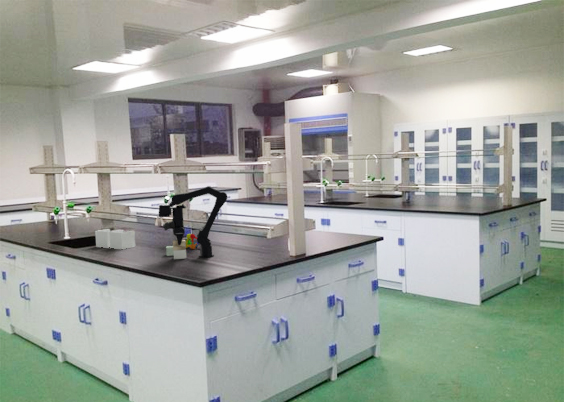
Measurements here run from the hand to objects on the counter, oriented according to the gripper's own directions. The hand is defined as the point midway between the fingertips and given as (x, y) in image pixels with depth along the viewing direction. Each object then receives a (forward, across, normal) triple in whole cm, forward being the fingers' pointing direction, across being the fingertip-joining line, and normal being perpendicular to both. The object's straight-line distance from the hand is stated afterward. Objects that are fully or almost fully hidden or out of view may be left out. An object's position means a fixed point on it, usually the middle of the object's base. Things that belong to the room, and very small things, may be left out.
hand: (179, 243), depth 281 cm
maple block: (+3, 0, 0) cm, 3 cm away
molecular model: (+8, -31, +8) cm, 33 cm away
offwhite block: (+8, 0, 0) cm, 8 cm away
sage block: (+8, -12, -4) cm, 15 cm away
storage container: (+9, -55, -40) cm, 69 cm away
